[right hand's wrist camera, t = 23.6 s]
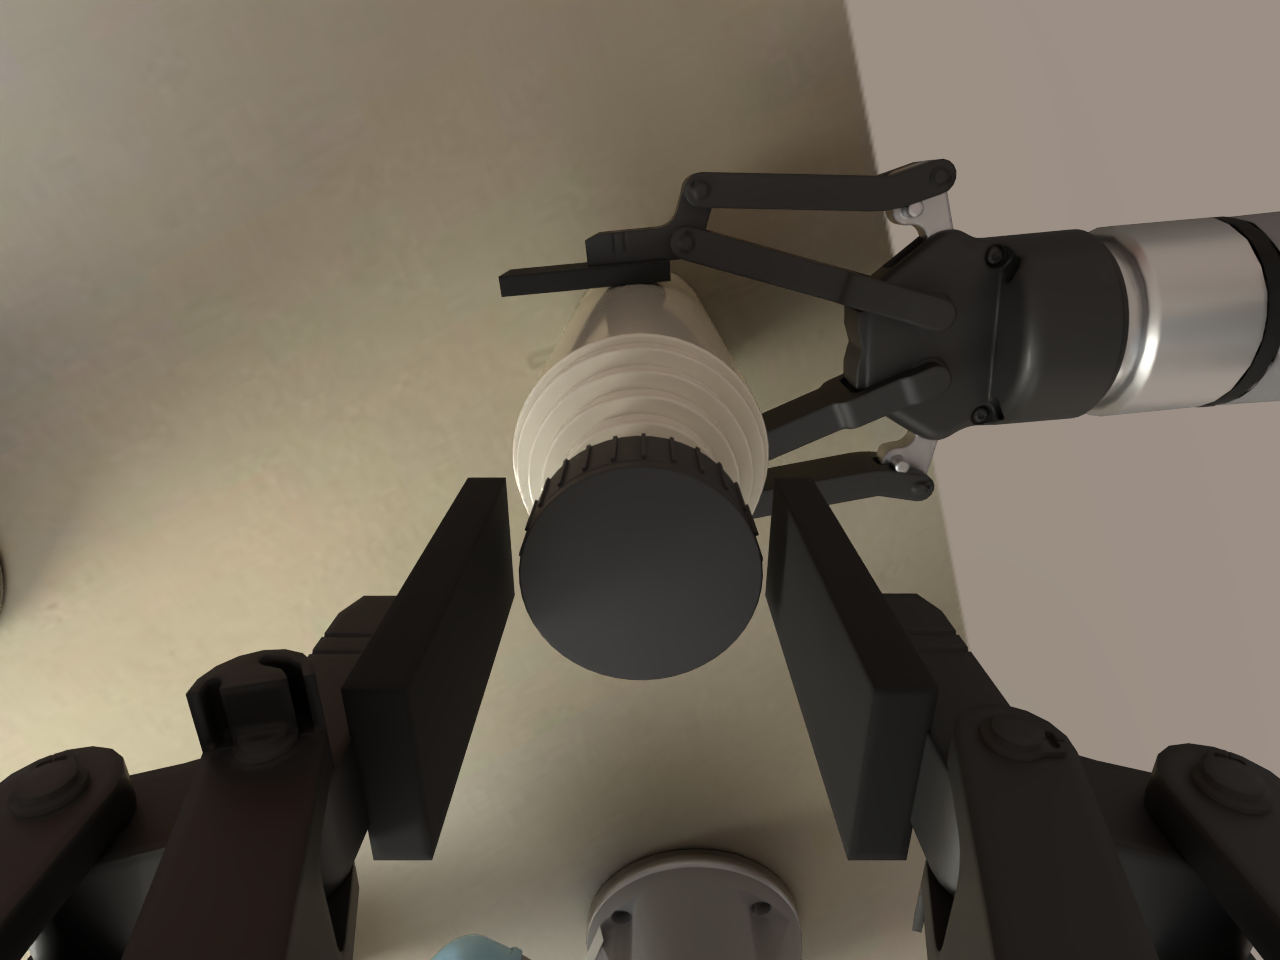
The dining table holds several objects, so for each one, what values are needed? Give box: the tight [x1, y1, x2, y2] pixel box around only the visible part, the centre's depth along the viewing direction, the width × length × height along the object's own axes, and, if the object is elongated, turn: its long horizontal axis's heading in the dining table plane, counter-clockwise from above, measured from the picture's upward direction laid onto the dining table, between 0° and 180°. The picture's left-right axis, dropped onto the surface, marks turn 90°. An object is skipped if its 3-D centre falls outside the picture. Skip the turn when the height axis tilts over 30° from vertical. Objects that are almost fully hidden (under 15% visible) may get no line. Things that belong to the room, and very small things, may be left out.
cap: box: [519, 433, 763, 680], centre depth 14 cm, size 5×5×2 cm
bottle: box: [513, 272, 769, 516], centre depth 25 cm, size 7×7×24 cm
